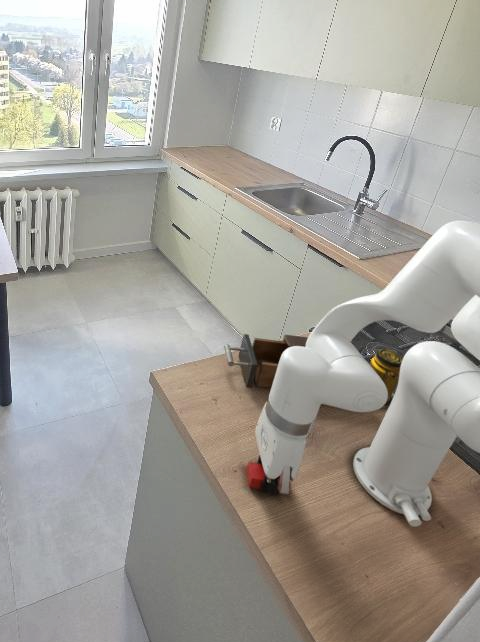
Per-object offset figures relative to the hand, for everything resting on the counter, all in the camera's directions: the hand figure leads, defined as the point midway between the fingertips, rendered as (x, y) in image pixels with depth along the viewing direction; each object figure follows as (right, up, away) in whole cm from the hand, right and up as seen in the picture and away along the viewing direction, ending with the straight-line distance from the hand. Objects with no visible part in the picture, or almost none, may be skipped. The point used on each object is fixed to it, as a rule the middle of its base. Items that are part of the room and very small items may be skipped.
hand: (266, 481), depth 79 cm
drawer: (+9, +11, +24) cm, 28 cm away
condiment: (+35, +7, +21) cm, 41 cm away
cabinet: (+21, +9, +23) cm, 32 cm away
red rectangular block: (0, 0, 0) cm, 0 cm away
